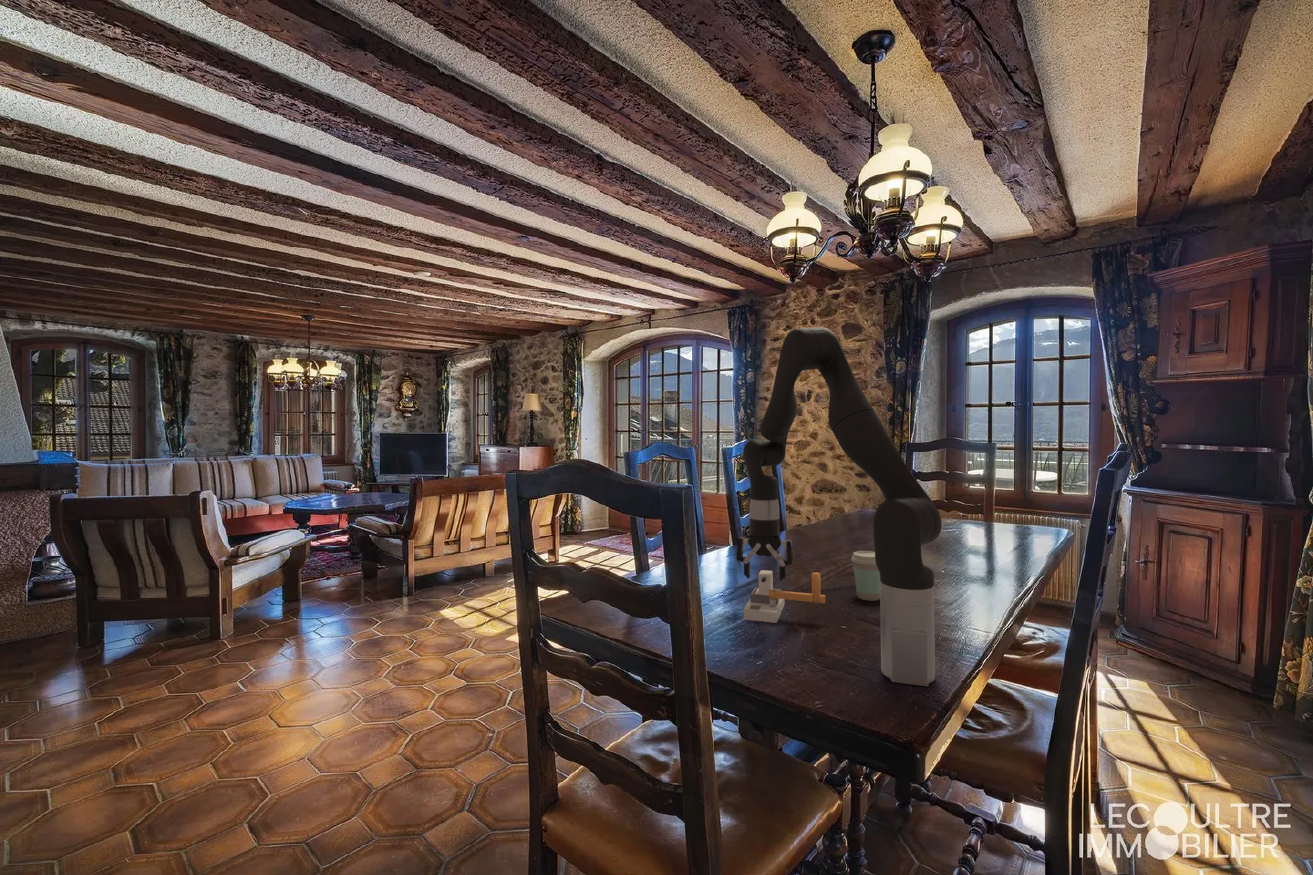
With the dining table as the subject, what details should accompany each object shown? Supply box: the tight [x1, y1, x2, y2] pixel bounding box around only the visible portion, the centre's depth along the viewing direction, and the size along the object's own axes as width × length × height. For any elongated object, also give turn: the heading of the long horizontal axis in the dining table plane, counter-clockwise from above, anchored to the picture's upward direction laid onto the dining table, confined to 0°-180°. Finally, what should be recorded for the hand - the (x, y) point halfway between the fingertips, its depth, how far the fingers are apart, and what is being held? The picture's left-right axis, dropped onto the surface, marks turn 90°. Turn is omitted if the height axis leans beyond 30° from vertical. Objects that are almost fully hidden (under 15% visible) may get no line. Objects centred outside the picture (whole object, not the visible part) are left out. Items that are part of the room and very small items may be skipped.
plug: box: [755, 569, 774, 595], centre depth 141 cm, size 6×5×7 cm
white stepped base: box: [743, 586, 786, 624], centre depth 140 cm, size 15×8×4 cm, turn 160°
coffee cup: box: [850, 550, 880, 602], centre depth 150 cm, size 8×8×12 cm
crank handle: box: [769, 571, 826, 604], centre depth 134 cm, size 14×2×7 cm, turn 67°
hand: (764, 578), depth 142 cm, fingers open, 8 cm apart
